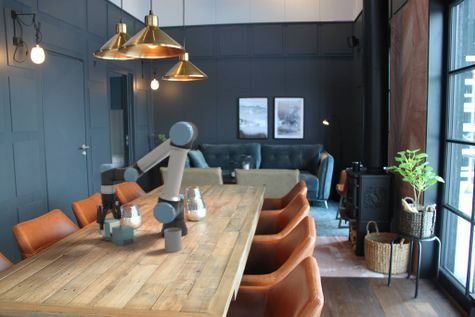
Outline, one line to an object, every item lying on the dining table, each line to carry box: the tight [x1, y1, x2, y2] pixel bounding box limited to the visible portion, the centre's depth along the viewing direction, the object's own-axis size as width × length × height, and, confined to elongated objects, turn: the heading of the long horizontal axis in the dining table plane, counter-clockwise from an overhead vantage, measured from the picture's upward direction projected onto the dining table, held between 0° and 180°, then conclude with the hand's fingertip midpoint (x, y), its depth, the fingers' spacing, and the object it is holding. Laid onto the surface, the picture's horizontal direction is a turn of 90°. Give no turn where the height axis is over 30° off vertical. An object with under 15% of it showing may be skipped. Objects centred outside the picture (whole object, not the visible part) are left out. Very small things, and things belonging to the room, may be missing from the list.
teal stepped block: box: [102, 224, 135, 247], centre depth 215 cm, size 20×7×8 cm, turn 53°
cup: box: [163, 228, 183, 253], centre depth 200 cm, size 8×8×10 cm
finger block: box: [98, 217, 121, 237], centre depth 218 cm, size 10×7×8 cm
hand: (109, 233), depth 218 cm, fingers closed on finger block, 7 cm apart
